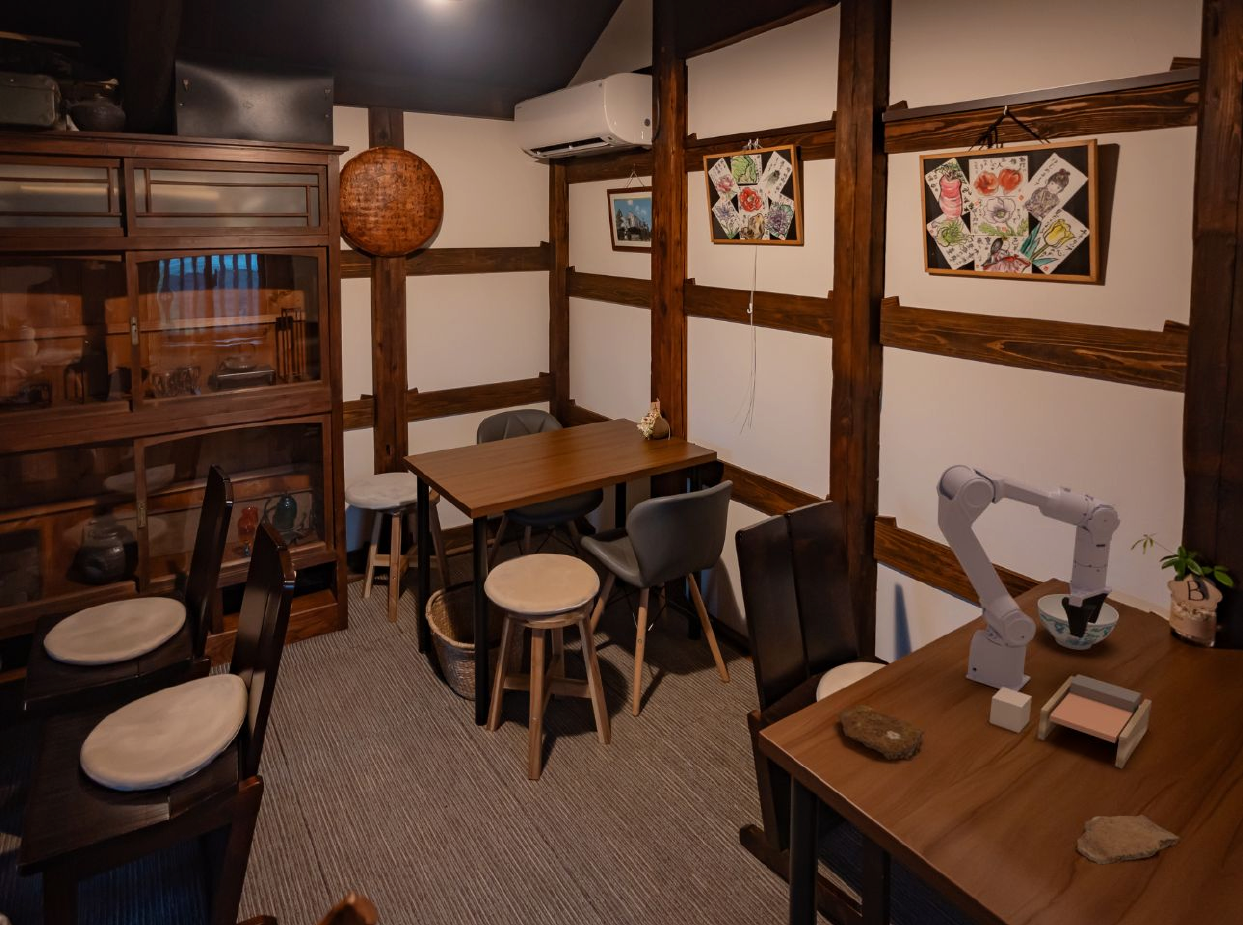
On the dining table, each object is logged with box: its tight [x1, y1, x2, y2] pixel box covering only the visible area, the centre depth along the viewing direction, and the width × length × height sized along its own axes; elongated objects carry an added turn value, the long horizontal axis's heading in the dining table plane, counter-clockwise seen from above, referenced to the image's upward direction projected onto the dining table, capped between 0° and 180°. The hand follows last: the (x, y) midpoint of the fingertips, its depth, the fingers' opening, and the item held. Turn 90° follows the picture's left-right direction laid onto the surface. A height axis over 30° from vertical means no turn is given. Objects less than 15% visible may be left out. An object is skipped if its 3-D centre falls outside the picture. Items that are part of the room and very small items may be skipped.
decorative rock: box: [836, 704, 925, 761], centre depth 149 cm, size 11×4×15 cm
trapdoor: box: [1049, 674, 1142, 744], centre depth 148 cm, size 10×14×3 cm
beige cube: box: [989, 687, 1033, 734], centre depth 153 cm, size 5×5×5 cm
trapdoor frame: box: [1037, 675, 1152, 769], centre depth 149 cm, size 13×16×6 cm
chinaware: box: [1037, 593, 1120, 651], centre depth 182 cm, size 15×15×8 cm
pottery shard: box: [1076, 814, 1181, 865], centre depth 124 cm, size 8×3×15 cm
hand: (1083, 628), depth 166 cm, fingers open, 7 cm apart
